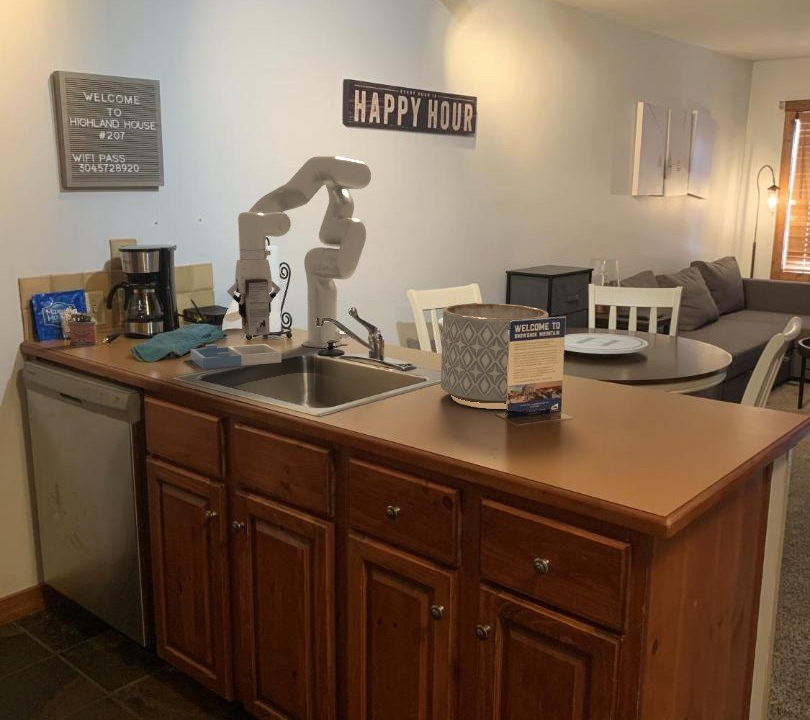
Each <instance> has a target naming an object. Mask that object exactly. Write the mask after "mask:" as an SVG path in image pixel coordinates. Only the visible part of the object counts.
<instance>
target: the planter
mask: <svg viewBox="0 0 810 720" xmlns="http://www.w3.org/2000/svg"><path fill="white" fill-rule="evenodd" d="M442 312H443V313H442V335H441V336H442V337H441V339H442V340H441V341H442V343H441V366H440V388H441V389H442V390H443V391H444V392H446V393H448V394H450V396H451V395H452V396H454V397H456V398H458V399H461V400H465V401H470V402H479V403H504V404H506V401H507V358H508V330H509V322H510V321H512V320H522V319H535V318H548V319H549V313H548V311H546V310H543V309H541V308H537V307H531V306H527V305H525V306H524V305H516V304H507V303H463V304H462V303H461V304H460V303H459V304H452V305H448V306H446V307H444V308H443V311H442Z"/></svg>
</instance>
